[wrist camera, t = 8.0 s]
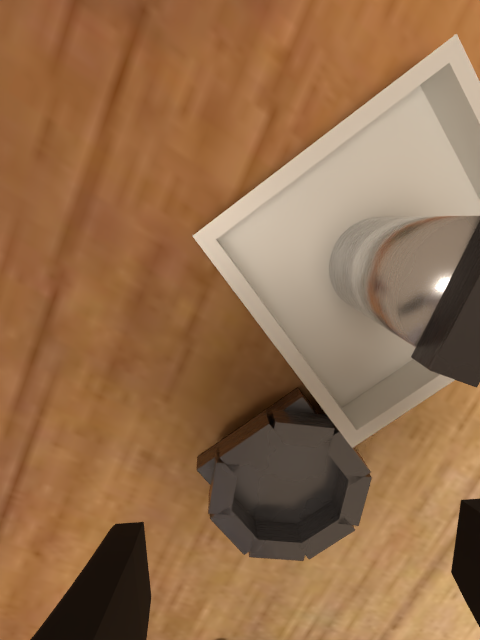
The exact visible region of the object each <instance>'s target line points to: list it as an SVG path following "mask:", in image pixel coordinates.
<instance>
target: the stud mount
mask: <svg viewBox="0 0 480 640" xmlns="http://www.w3.org/2000/svg"><path fill="white" fill-rule="evenodd" d="M197 471H198V472H199V473H200V474H201V475H202V476H203V477H204V479H205V480H206V481H207V482H208V483H209V484H210V490H209V506H208V514H210V519H211V520H212V521H213V522H214V523H215V524H216V525H217V527H218V528H219V529H220V530H221V531H222V532H223V533H224V534H225V535H226V536H227V537H228V538H229V539H230V540H231V541H232V542H233V544H234V545H235V546H236V547H237V548H238V549H239V550H240V551H241V552H242V553H243V554H244V555H245V554H246V553H248V552H249V557H256V558H270V559H284V560H298V561H304V556H305V555H306V556H307V558H308V559H311V558H312V557H314V556H315V555H317V554H318V553H320V552H322V551H323V550H325V549H326V548H328V547H329V546H331V545H333V544H334V543H336V542H337V541H339V540H340V539H342V538H344V537H345V536H347V535H348V534H350V533H351V532H353V531H355V529H354V526H353V525H356V526H359V522H360V519H361V515H362V511H363V508H364V504H365V500H366V496H367V493H368V489H369V486H370V482H371V478H372V477H371V475H370V474H369V473H370V470H369V469H368V467H367V465H366V464H365V462H364V461H363V459H362V457H361V456H360V454H359V453H358V452H357V450H356V449H355V448H354V447H353V448H352V447H351V446H350V445H349V443H348V442H347V441H346V439H345V438H344V437H343V435H342V434H341V433H340V431H339V430H338V429H337V428H336V426H335V425H334V424H333V422H332V421H331V420H330V419H329V418H328V416H327V415H324V414H318V413H317V412H316V411H315V410H314V408H313V407H312V406H311V404H310V403H309V402H308V400H307V399H306V398H305V396H304V395H303V394H302V392H301V391H300V390H299V388H296V389H295V390H293V391H292V392H291V393H289V394H288V395H286V396H285V397H283V398H282V399H280V400H279V401H278V402H276V403H275V404H273V405H272V406H270V407H269V408H267V409H266V410H265V411H263V412H262V413H260V414H259V415H257V416H256V417H254V418H253V419H252V420H250V421H249V422H247V423H246V424H244V425H243V426H241V427H240V428H239V429H237V430H236V431H234V432H233V433H231V434H230V435H228V436H227V437H226V438H224V439H223V440H221V441H220V442H218V443H217V444H215V445H214V446H213V447H211V448H210V449H208V450H207V451H205V452H204V453H203V454H201V455H200V456H198V457H197Z"/></svg>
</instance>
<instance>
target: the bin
mask: <svg viewBox="0 0 480 640" xmlns="http://www.w3.org/2000/svg"><path fill="white" fill-rule="evenodd" d="M420 216H480V81H479V79H478V77H477V75H476V73H475V71H474V69H473V67H472V65H471V63H470V61H469V58H468V56H467V54H466V52H465V50H464V48H463V46H462V44H461V42H460V40H459V38H458V35H457V34H456V35H454V36H453V37H452V38H450V39H449V40H448V41H446V42H445V43H444V44H443V45H441V46H440V47H439V48H437V49H436V50H435V51H433V52H432V53H431V54H429V55H428V56H427V57H426V58H424V59H423V60H422V61H420V62H419V63H418V64H416V65H415V66H414V67H412V68H411V69H410V70H409V71H407V72H406V73H405V74H403V75H402V76H401V77H399V78H398V79H397V80H395V81H394V82H393V83H392V84H390V85H389V86H388V87H386V88H385V89H384V90H382V91H381V92H380V93H379V94H377V95H376V96H375V97H373V98H372V99H371V100H369V101H368V102H367V103H365V104H364V105H363V106H362V107H360V108H359V109H358V110H356V111H355V112H354V113H352V114H351V115H350V116H348V117H347V118H346V119H345V120H343V121H342V122H341V123H339V124H338V125H337V126H335V127H334V128H333V129H331V130H330V131H329V132H328V133H326V134H325V135H324V136H322V137H321V138H320V139H318V140H317V141H316V142H314V143H313V144H312V145H311V146H309V147H308V148H307V149H305V150H304V151H303V152H301V153H300V154H299V155H297V156H296V157H295V158H294V159H292V160H291V161H290V162H288V163H287V164H286V165H284V166H283V167H282V168H280V169H279V170H278V171H277V172H275V173H274V174H273V175H271V176H270V177H269V178H267V179H266V180H265V181H264V182H262V183H261V184H260V185H258V186H257V187H256V188H254V189H253V190H252V191H250V192H249V193H248V194H247V195H245V196H244V197H243V198H241V199H240V200H239V201H237V202H236V203H235V204H233V205H232V206H231V207H230V208H228V209H227V210H226V211H224V212H223V213H222V214H220V215H219V216H218V217H216V218H215V219H214V220H213V221H211V222H210V223H209V224H207V225H206V226H205V227H203V228H202V229H201V230H199V231H198V232H197V233H196V234H194V235H193V237H194V239H195V240H196V241H197V243H198V244H199V245H200V247H201V248H202V249H203V251H204V252H205V253H206V255H207V256H208V257H209V259H210V260H211V261H212V263H213V264H214V265H215V267H216V268H217V269H218V271H219V272H220V273H221V275H222V276H223V277H224V279H225V280H226V281H227V283H228V284H229V285H230V287H231V288H232V289H233V291H234V292H235V293H236V295H237V296H238V297H239V299H240V300H241V301H242V303H243V304H244V305H245V307H246V308H247V309H248V311H249V312H250V313H251V315H252V316H253V317H254V319H255V320H256V321H257V323H258V324H259V325H260V327H261V328H262V329H263V331H264V332H265V333H266V334H267V336H268V337H269V338H270V340H271V341H272V342H273V344H274V345H275V346H276V348H277V349H278V350H279V352H280V353H281V354H282V356H283V357H284V358H285V360H286V361H287V362H288V364H289V365H290V366H291V368H292V369H293V370H294V372H295V373H296V374H297V376H298V377H299V378H300V380H301V381H302V382H303V384H304V385H305V386H306V388H307V389H308V390H309V392H310V393H311V394H312V396H313V397H314V398H315V400H316V401H317V402H318V404H319V405H320V406H321V408H322V409H323V410H324V412H325V413H326V414H327V416H328V417H329V418H330V420H331V421H332V422H333V424H334V425H335V426H336V428H337V429H338V430H339V431H340V433H341V434H342V435H343V437H344V438H345V439H346V441H347V442H348V443H349V445H350V446H351V447H352V448H353V447H355V446H356V445H358V444H359V443H361V442H362V441H364V440H365V439H367V438H368V437H370V436H371V435H373V434H374V433H376V432H377V431H379V430H380V429H382V428H383V427H385V426H386V425H388V424H389V423H391V422H392V421H394V420H395V419H397V418H398V417H400V416H401V415H403V414H404V413H406V412H407V411H409V410H410V409H412V408H414V407H415V406H417V405H418V404H420V403H421V402H423V401H424V400H426V399H427V398H429V397H430V396H432V395H433V394H435V393H436V392H438V391H439V390H441V389H442V388H444V387H445V386H447V385H448V384H450V383H451V382H453V381H454V380H455V379H452V378H449V377H446V376H443V375H441V374H438V373H435V372H432V371H430V370H428V369H427V368H426V367H424V366H423V365H421V364H420V363H418V362H417V361H416V360H414V359H413V358H411V356H412V354H413V352H414V350H415V348H416V347H414V346H413V345H411V344H410V343H408V342H406V341H405V340H403V339H402V338H400V337H399V336H397V335H395V334H394V333H392V332H391V331H389V330H388V329H386V328H384V327H383V326H381V325H380V324H378V323H377V322H375V321H373V320H372V319H370V318H369V317H367V316H366V315H364V314H362V313H361V312H359V311H358V310H356V309H354V308H353V307H351V306H350V305H348V304H347V303H345V302H344V301H343V300H342V299H341V298H340V297H339V296H338V295H337V293H336V292H335V290H334V288H333V286H332V284H331V281H330V276H329V260H330V256H331V253H332V250H333V248H334V246H335V244H336V242H337V240H338V239H339V237H340V236H341V235H342V234H343V233H344V232H345V231H346V230H347V229H348V228H349V227H351V226H352V225H354V224H356V223H357V222H359V221H362V220H364V219H368V218H374V217H420Z"/></svg>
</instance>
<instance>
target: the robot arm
mask: <svg viewBox="0 0 480 640" xmlns="http://www.w3.org/2000/svg"><path fill="white" fill-rule="evenodd" d="M451 573H452V575H453V577H454V579H455V581H456V583H457V585H458V587H459V589H460V591H461V593H462V595H463V597H464V599H465V601H466V603H467V605H468V606H469V608H470V610H471V612H472V614H473V616H474V618H475V620H476V621H477V623H478V625H479V627H480V499H469V500H461V505H460V512H459V520H458V527H457V534H456V542H455V549H454V556H453V564H452V571H451ZM150 603H151V590H150V580H149V571H148V561H147V551H146V541H145V531H144V522H138V523H123V524H115V525H114V526H113V527H112V528H111V529H110V531H109V532H108V534H107V535H106V537H105V538H104V540H103V541H102V543H101V544H100V546H99V547H98V549H97V550H96V551H95V553H94V554H93V556H92V557H91V559H90V560H89V562H88V563H87V565H86V566H85V567H84V569H83V570H82V572H81V573H80V574H79V576H78V577H77V579H76V580H75V582H74V583H73V584H72V586H71V587H70V588H69V590H68V591H67V592H66V594H65V595H64V596H63V598H62V599H61V601H60V602H59V603H58V605H57V606H56V607H55V609H54V610H53V611H52V613H51V614H50V615H49V617H48V618H47V619H46V621H45V622H44V623H43V625H42V626H41V627H40V628H39V630H38V631H37V632H36V634H35V635H34V636H33V637H32V639H31V640H146V637H147V629H148V621H149V612H150Z"/></svg>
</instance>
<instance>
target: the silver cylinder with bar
mask: <svg viewBox="0 0 480 640" xmlns="http://www.w3.org/2000/svg"><path fill="white" fill-rule="evenodd" d="M329 276H330V281H331V284H332V286H333V288H334V290H335V292H336V293H337V295H338V296H339V297H340V298H341V299H342V300H343V301H344V302H345V303H347V304H348V305H350V306H351V307H353V308H354V309H356V310H358V311H359V312H361V313H362V314H364V315H366V316H367V317H369V318H370V319H372V320H373V321H375V322H377V323H378V324H380V325H381V326H383V327H384V328H386V329H388V330H389V331H391V332H392V333H394V334H395V335H397V336H399V337H400V338H402V339H403V340H405V341H406V342H408V343H410V344H411V345H413V346H414V347H416V348H415V350H414V352H413V354H412V356H411V358H413V359H414V360H416V361H417V362H418V363H420V364H421V365H423V366H424V367H426V368H427V369H428V370H430V371H432V372H435V373H438V374H441V375H443V376H446V377H449V378H452V379H455V380H457V381H460V382H463V383H466V384H469V385H471V386H474V387H477V386H478V384H479V382H480V216H420V217H374V218H368V219H364V220H362V221H359V222H357V223H356V224H354V225H352V226H351V227H349V228H348V229H347V230H346V231H345V232H344V233H343V234H342V235H341V236H340V237H339V239H338V240H337V242H336V244H335V246H334V248H333V250H332V253H331V256H330V260H329Z"/></svg>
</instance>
